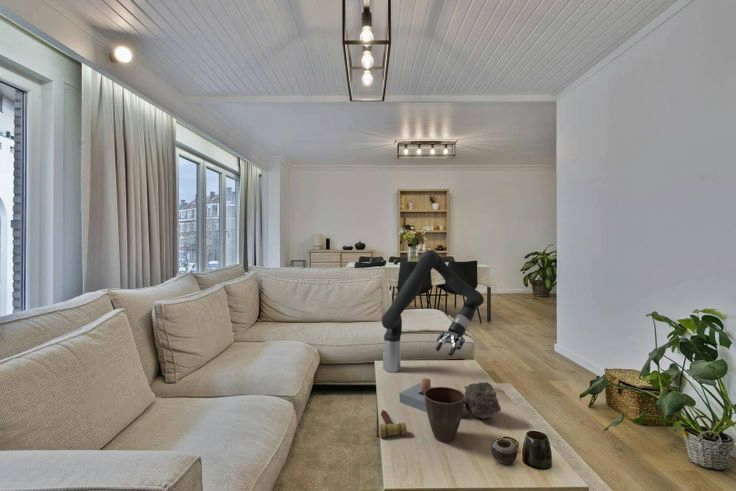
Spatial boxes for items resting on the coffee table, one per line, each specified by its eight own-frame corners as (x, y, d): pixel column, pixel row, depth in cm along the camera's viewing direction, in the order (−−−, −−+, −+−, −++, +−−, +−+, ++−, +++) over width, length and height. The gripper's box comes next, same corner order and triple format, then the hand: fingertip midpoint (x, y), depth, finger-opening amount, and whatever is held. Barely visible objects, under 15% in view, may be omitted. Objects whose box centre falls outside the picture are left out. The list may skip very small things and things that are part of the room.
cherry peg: (419, 402, 166) (419, 380, 166) (424, 399, 169) (424, 377, 169) (427, 404, 163) (427, 382, 163) (432, 401, 167) (432, 380, 166)
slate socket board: (399, 401, 167) (399, 393, 167) (419, 391, 178) (419, 383, 178) (432, 414, 154) (432, 405, 154) (452, 402, 166) (452, 393, 166)
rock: (497, 375, 152) (464, 372, 149) (507, 411, 142) (472, 409, 139) (476, 392, 165) (445, 389, 162) (484, 426, 155) (451, 424, 152)
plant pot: (436, 422, 147) (436, 383, 147) (471, 435, 138) (471, 393, 138) (416, 438, 136) (416, 396, 135) (453, 453, 126) (453, 407, 126)
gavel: (370, 406, 156) (393, 404, 158) (371, 417, 156) (393, 415, 158) (380, 427, 135) (406, 425, 137) (380, 440, 135) (406, 437, 137)
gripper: (445, 318, 187) (428, 344, 181) (466, 324, 175) (450, 351, 169) (452, 327, 190) (436, 353, 184) (474, 333, 178) (457, 361, 172)
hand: (442, 352), depth 176 cm, fingers open, 8 cm apart
